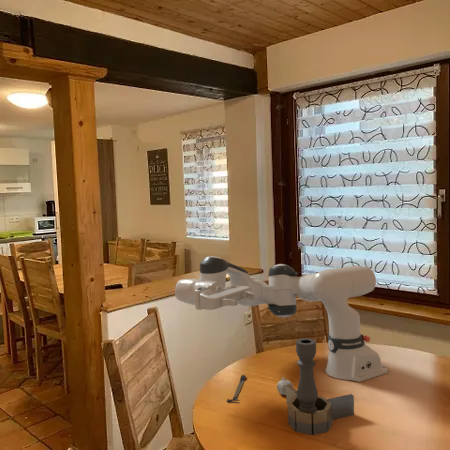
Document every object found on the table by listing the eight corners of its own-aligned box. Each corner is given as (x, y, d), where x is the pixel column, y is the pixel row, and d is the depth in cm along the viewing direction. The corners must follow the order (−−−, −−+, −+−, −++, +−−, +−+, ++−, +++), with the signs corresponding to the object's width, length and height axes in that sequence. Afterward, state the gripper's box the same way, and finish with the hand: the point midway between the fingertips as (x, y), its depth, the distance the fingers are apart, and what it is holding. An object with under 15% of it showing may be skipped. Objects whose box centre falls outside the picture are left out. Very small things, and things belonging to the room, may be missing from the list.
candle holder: (315, 433, 131) (313, 346, 129) (294, 428, 134) (292, 343, 132) (321, 422, 137) (319, 339, 135) (300, 418, 140) (298, 337, 137)
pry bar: (246, 407, 151) (246, 404, 151) (226, 404, 152) (226, 400, 152) (258, 379, 171) (258, 376, 171) (240, 377, 173) (240, 374, 172)
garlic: (275, 390, 160) (274, 375, 159) (290, 389, 160) (290, 374, 160) (278, 398, 154) (278, 382, 153) (295, 396, 154) (294, 381, 154)
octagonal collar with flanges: (327, 394, 155) (327, 376, 154) (364, 423, 136) (364, 403, 135) (271, 406, 148) (270, 387, 148) (301, 437, 129) (300, 416, 129)
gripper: (232, 297, 166) (264, 302, 157) (192, 310, 150) (225, 316, 141) (231, 279, 165) (263, 283, 156) (191, 291, 149) (224, 296, 141)
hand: (245, 299), depth 149 cm, fingers open, 8 cm apart
